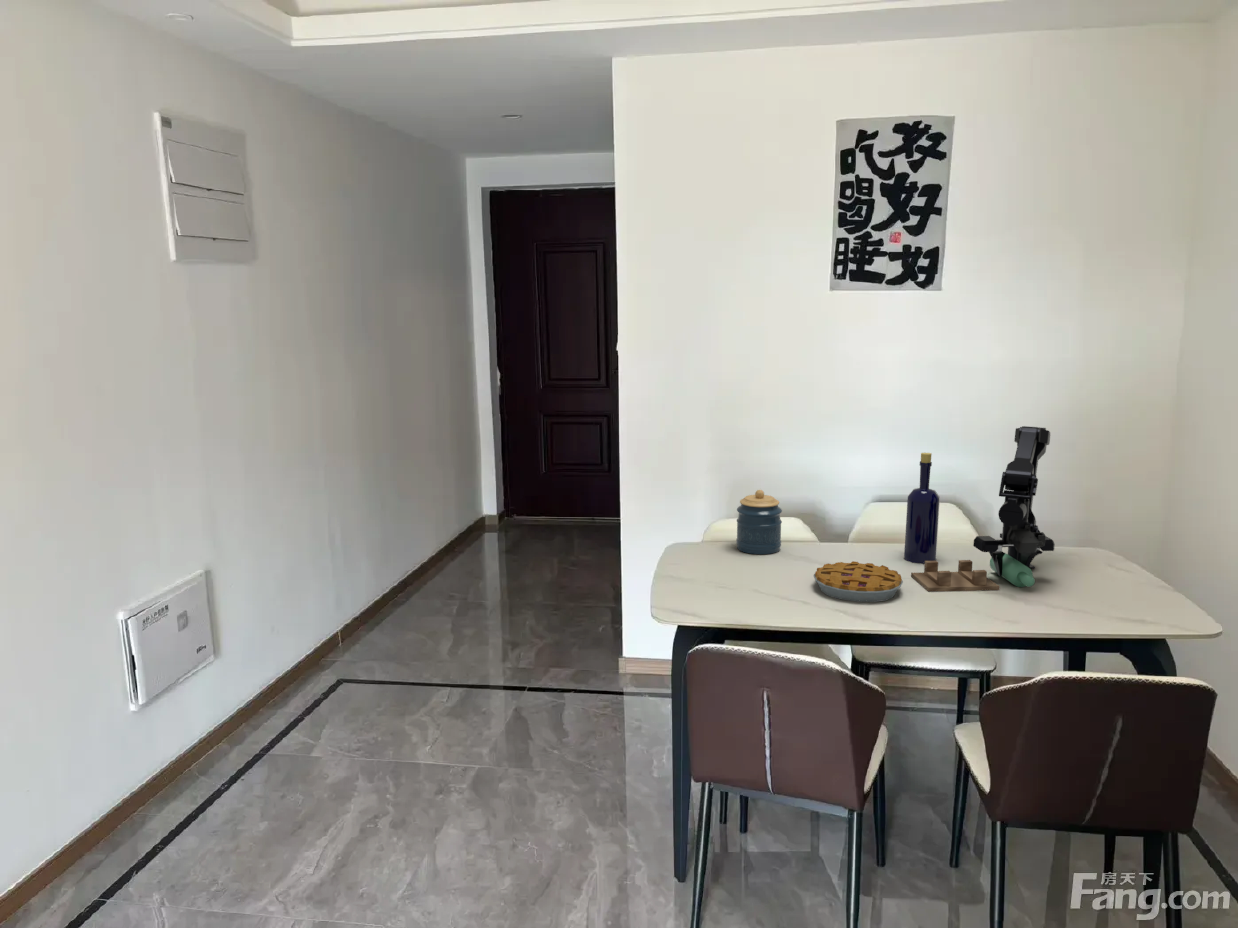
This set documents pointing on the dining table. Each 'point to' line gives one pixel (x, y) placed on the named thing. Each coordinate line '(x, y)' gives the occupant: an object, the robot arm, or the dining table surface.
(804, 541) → the dining table surface
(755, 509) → the canister
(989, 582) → the bottle rest
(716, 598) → the dining table surface
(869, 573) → the pie
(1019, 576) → the small bottle
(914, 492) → the bottle
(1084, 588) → the dining table surface
